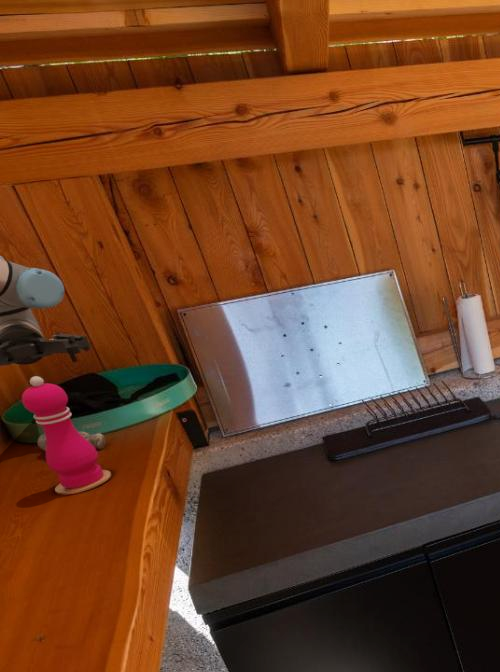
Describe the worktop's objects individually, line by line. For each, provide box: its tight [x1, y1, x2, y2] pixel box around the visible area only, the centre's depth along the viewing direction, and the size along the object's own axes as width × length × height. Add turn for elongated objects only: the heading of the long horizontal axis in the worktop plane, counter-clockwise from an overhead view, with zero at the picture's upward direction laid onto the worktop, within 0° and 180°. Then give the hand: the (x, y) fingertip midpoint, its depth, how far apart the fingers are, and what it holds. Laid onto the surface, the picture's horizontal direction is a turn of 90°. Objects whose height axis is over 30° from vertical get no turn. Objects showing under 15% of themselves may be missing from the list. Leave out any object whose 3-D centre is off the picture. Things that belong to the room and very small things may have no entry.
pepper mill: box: [21, 375, 103, 488], centre depth 133 cm, size 7×7×20 cm
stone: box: [37, 430, 106, 452], centre depth 149 cm, size 10×6×8 cm
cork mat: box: [54, 469, 112, 496], centre depth 138 cm, size 8×8×1 cm
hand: (26, 365), depth 137 cm, fingers open, 13 cm apart
